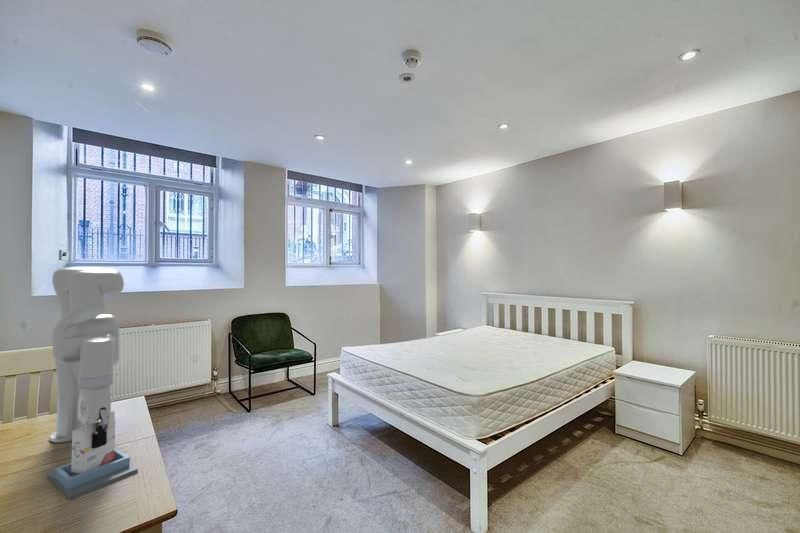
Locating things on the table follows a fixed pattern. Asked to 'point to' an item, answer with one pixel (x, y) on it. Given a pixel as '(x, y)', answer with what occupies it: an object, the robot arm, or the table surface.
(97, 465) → the ink cartridge box
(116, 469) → the dock
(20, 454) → the table surface
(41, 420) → the table surface
